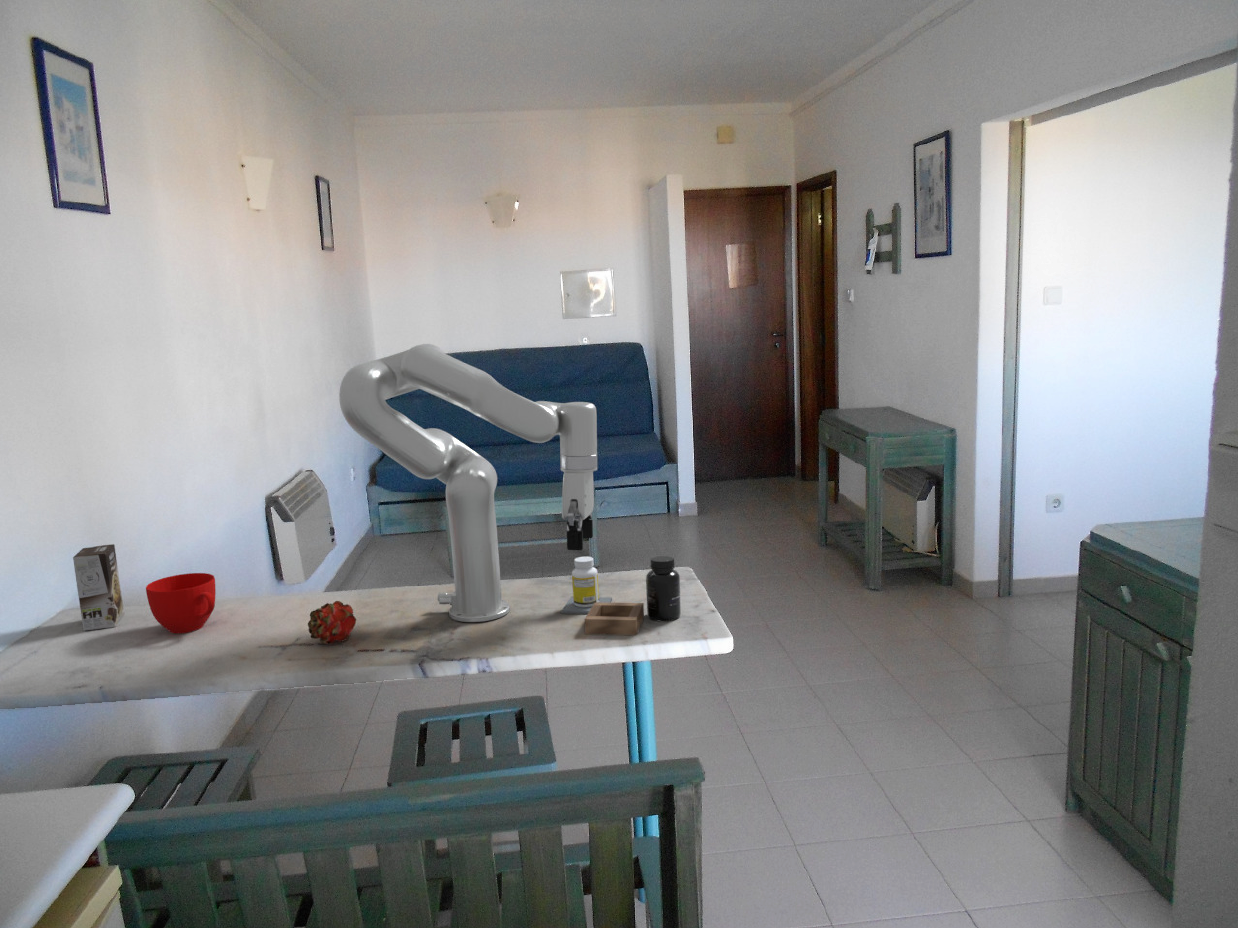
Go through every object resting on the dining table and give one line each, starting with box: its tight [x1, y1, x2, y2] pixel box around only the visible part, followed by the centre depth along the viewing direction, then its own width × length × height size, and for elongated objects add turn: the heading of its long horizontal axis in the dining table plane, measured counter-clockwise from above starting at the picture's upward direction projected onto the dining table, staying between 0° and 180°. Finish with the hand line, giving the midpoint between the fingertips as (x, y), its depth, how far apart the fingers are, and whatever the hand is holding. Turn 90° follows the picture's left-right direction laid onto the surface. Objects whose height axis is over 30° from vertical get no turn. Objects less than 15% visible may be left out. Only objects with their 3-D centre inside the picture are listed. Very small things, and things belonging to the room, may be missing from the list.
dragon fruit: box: [307, 600, 357, 646], centre depth 178 cm, size 8×8×12 cm
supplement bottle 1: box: [571, 556, 600, 607], centre depth 191 cm, size 5×5×10 cm
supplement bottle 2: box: [645, 555, 682, 622], centre depth 183 cm, size 7×7×12 cm
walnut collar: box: [584, 602, 645, 636], centre depth 179 cm, size 10×10×3 cm
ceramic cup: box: [145, 572, 217, 634], centre depth 188 cm, size 13×17×10 cm
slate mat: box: [560, 596, 613, 615], centre depth 192 cm, size 9×9×1 cm
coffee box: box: [72, 543, 125, 632], centre depth 194 cm, size 9×6×16 cm
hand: (580, 543), depth 189 cm, fingers open, 9 cm apart
